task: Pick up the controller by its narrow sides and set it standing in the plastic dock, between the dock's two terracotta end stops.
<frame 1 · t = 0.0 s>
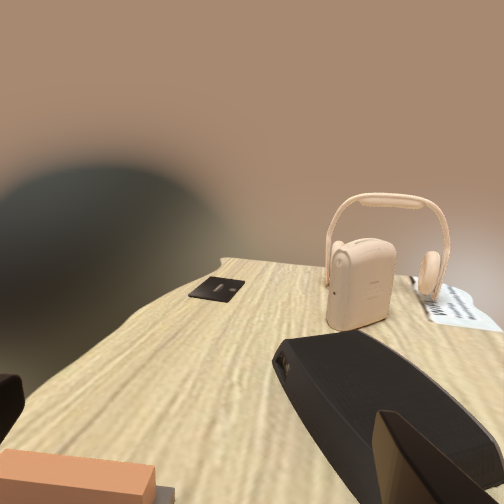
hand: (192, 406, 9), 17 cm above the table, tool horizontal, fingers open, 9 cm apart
photo printer: (356, 322, 51), on the table
external hard drive: (363, 415, 33), on the table
headset: (377, 294, 62), on the table
solid state drive: (218, 292, 61), on the table
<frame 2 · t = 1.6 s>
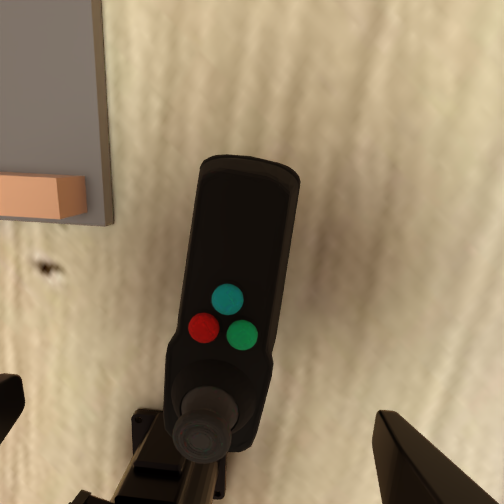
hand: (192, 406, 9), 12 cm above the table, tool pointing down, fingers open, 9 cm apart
controller: (246, 263, 21), on the table
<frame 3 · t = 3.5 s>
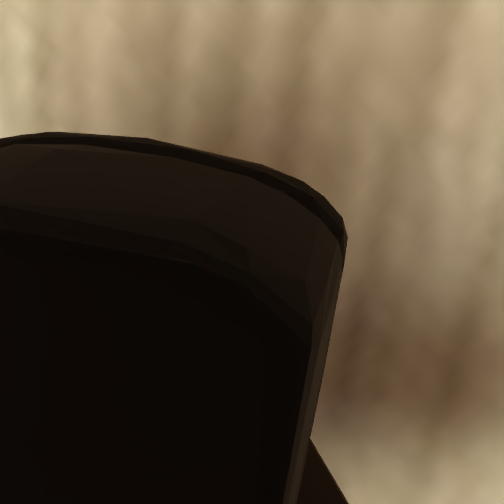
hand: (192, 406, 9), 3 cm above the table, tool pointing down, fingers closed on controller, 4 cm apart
controller: (214, 348, 11), on the table, touching gripper
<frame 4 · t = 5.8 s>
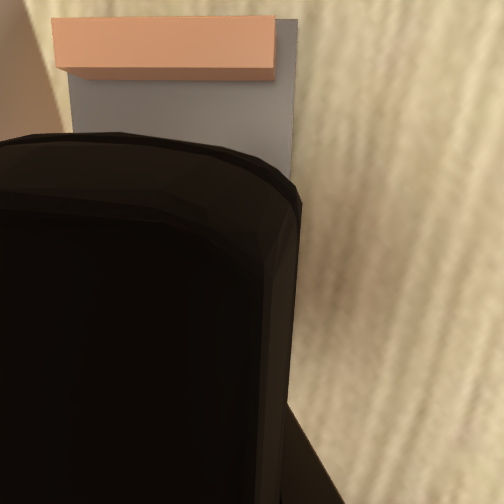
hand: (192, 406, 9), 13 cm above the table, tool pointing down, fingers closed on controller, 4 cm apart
dock: (186, 216, 21), on the table
controller: (211, 337, 12), point 10 cm above the table, touching gripper
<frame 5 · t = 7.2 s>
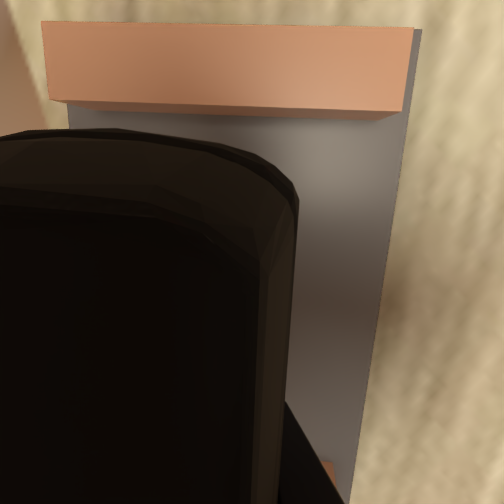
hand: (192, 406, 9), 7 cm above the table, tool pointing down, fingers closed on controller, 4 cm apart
dock: (230, 296, 15), on the table
controller: (210, 336, 12), point 4 cm above the table, touching gripper
when the fingers open (5 cm above the table, at t = 8.2 s): controller stays where it is, resting on dock.
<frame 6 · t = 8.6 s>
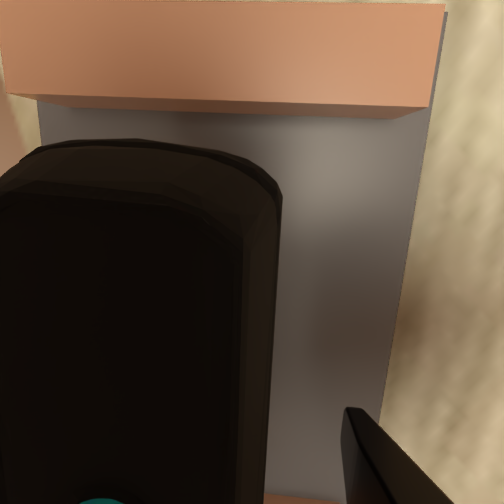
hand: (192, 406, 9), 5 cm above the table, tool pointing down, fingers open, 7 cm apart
dock: (225, 317, 13), on the table
controller: (216, 326, 13), point 1 cm above the table, touching dock
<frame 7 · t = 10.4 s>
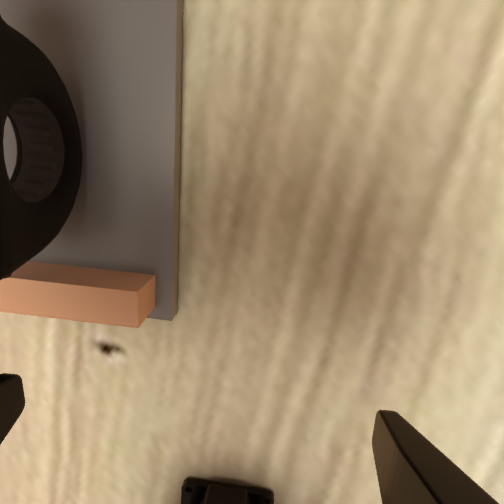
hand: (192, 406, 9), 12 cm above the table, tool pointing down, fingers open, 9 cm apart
dock: (72, 133, 19), on the table
controller: (59, 132, 18), point 1 cm above the table, touching dock
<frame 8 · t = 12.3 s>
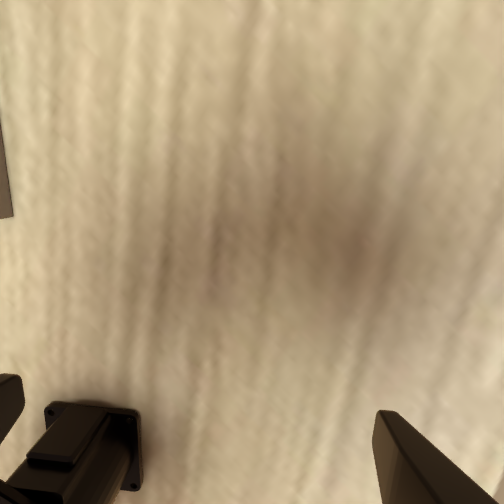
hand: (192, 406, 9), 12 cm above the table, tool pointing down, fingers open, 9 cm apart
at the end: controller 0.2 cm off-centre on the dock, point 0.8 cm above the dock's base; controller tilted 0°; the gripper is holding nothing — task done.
